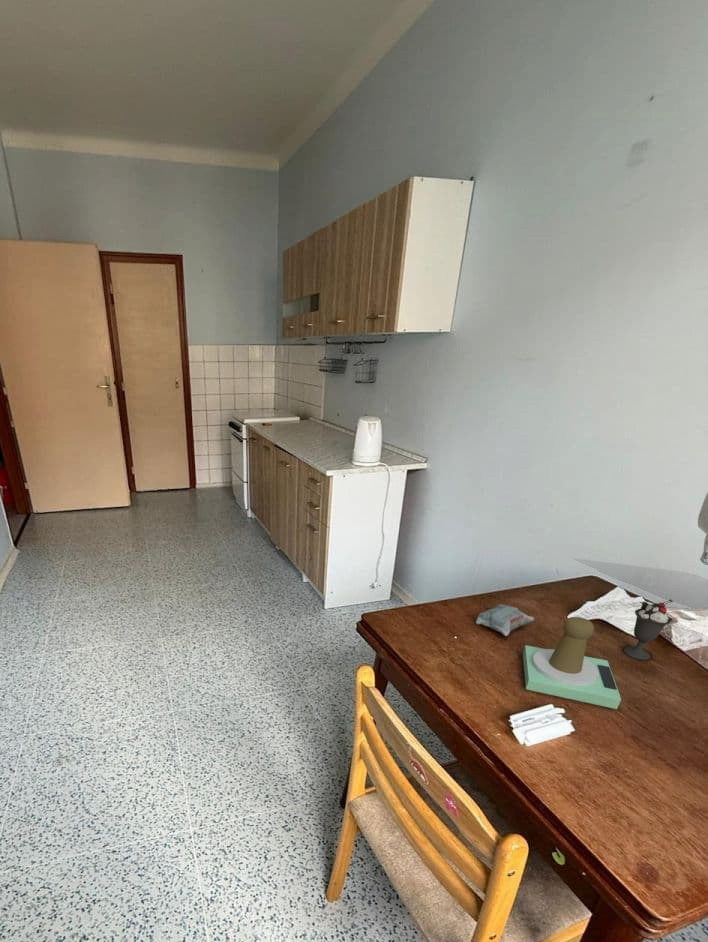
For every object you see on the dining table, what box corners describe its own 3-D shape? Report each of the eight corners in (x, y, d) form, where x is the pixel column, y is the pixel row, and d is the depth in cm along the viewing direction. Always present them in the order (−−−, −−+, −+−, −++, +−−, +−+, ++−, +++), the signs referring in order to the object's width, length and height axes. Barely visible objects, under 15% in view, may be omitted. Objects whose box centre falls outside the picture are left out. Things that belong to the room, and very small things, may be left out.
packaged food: (531, 627, 119) (536, 610, 117) (504, 642, 114) (508, 624, 112) (499, 614, 126) (503, 597, 124) (472, 627, 120) (475, 610, 118)
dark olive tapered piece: (588, 671, 97) (606, 626, 92) (562, 675, 97) (578, 629, 91) (567, 655, 103) (582, 611, 97) (542, 658, 102) (556, 614, 97)
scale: (603, 669, 104) (609, 656, 102) (617, 709, 92) (623, 695, 91) (522, 654, 109) (526, 641, 108) (525, 689, 98) (529, 675, 97)
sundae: (656, 665, 105) (683, 606, 98) (619, 656, 108) (643, 598, 101) (654, 651, 109) (679, 593, 102) (619, 642, 113) (641, 586, 106)
